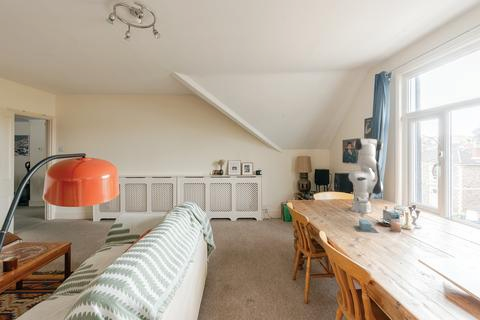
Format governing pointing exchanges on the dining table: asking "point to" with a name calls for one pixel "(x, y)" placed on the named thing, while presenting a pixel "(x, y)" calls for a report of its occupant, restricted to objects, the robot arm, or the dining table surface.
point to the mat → (365, 231)
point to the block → (365, 225)
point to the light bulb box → (391, 215)
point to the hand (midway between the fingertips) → (360, 214)
